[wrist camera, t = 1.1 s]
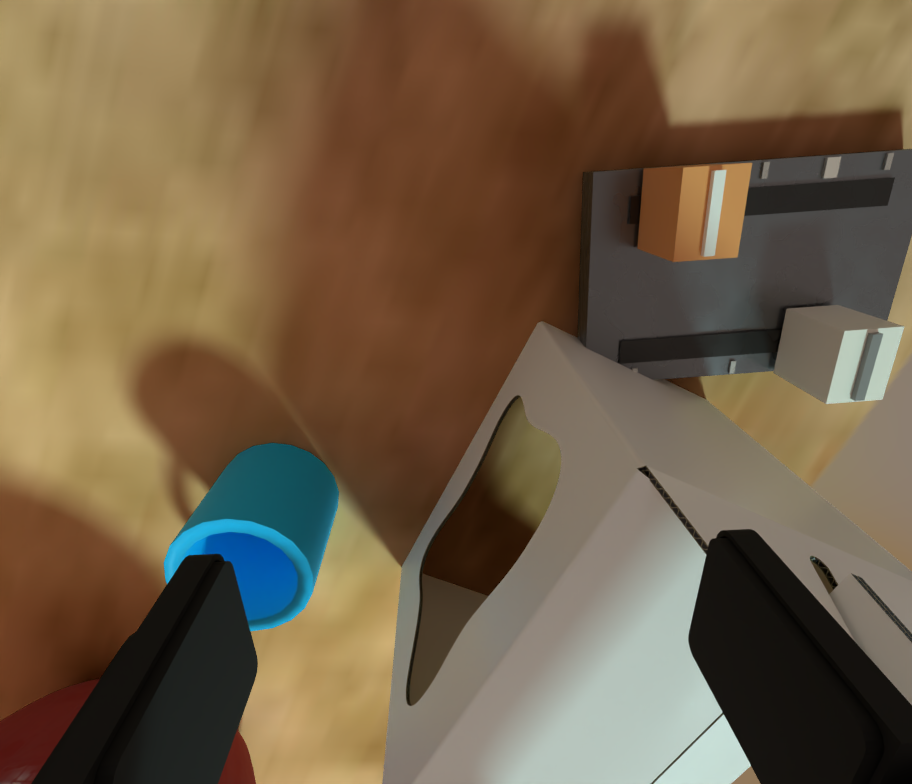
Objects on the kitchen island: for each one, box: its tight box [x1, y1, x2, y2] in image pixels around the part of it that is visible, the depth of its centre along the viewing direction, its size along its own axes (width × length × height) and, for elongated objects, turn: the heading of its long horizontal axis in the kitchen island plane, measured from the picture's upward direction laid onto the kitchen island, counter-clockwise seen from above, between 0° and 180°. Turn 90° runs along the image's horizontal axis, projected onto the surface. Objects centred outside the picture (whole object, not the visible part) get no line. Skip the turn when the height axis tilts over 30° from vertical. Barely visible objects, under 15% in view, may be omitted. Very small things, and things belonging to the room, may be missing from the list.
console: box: [578, 149, 912, 380], centre depth 29 cm, size 12×18×2 cm, turn 94°
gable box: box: [382, 321, 912, 784], centre depth 24 cm, size 22×13×28 cm, turn 154°
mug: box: [164, 443, 339, 631], centre depth 32 cm, size 12×8×8 cm
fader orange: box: [637, 163, 752, 262], centre depth 24 cm, size 4×3×5 cm
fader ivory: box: [774, 305, 904, 404], centre depth 28 cm, size 4×3×5 cm
